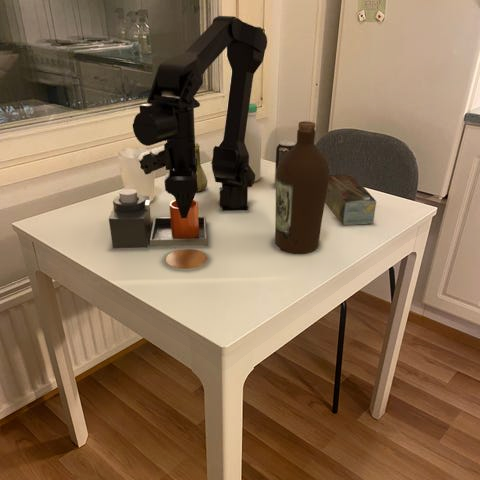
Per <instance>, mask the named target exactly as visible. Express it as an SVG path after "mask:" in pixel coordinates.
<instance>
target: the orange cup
mask: <svg viewBox="0 0 480 480" xmlns="http://www.w3.org/2000/svg"><path fill="white" fill-rule="evenodd" d="M169 217H170V218H171V232H172V236H173V237H174V238H177V239H179V238H195V237H197V236H198V235H199V220H198V217H199V202H198V201H197V200H195V199H193V202H192V205H191V207H190V210H189V212H188V215H187V218H181V216H180V212H179V209H178V206H177V202H176V199H174V200H172V201H170V202H169Z"/></svg>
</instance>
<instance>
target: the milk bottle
mask: <svg viewBox="0 0 480 480" xmlns="http://www.w3.org/2000/svg"><path fill="white" fill-rule="evenodd" d="M257 111H258V105H257V104H255V103H250V104H249V111H248V119H247V126H246V133H245V141H244V143H245V146H246V148H247V151H248V153H249V166H250V167H251V169H252V170H253V172H254V173H255V181H254V182H257V181H259V180H260V178H261V170H262V169H261V165H262V134H261V130H260V127H259V124H258V121H257V114H258V113H257Z"/></svg>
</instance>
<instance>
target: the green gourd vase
mask: <svg viewBox="0 0 480 480" xmlns="http://www.w3.org/2000/svg"><path fill="white" fill-rule="evenodd" d="M195 153H196V154H197V172H196V175H197V192H202V191H204V190H205V189H206V188H207V187H208V178H207V175H206V173H205V171H204V169H203V167H202V165H201V151H200V144H199V143H197V142H195Z"/></svg>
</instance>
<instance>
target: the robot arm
mask: <svg viewBox="0 0 480 480" xmlns="http://www.w3.org/2000/svg"><path fill="white" fill-rule="evenodd" d="M267 47H268V37H267V34H266V33H265V31H264V29H263V28H262V27H261V26H254V25H252V24H249V23H248V22H245V21H243V20H242V19H240V18H239V17H237V16H233V15H217V16H215V17H214V18H213V19H212V22H211V24H210V25H209V26H208V27H207V28H206V29H205V30H204V32H202V34H200V35H199V37H198V38H197V39H196V40H195V41H194V42H193V43H192V44H191V45H190V46H189V47H188V48H187V49H186V50H185V51H184V52H182V53H179V54H176V55H174V56H171V57H169V58H167V59H166V60H164V61H162V62H161V63H160V64H159V66H158V67H157V68H156V71H155V76H154V79H153V82H152V85H151V88H150V90H149V94H148V97H147V100H146V103H147V104H145V103H144V104H140V105H139V113H137V114H136V115H135V117H134V119H133V123H132V130H133V133H134V136H135V138H136V140H137V141H138V142H139V143H140V144H141V145H143V146H145V147H150V146H153V145H156V144H158V143H162V142H163V145H161V146H158V147H155V148H152V149H151V150H150V151H147V152H144V153H142V154H141V155H140V156H139V159H138V160H139V162H140V164H141V166H140V168H141V169H143V171H144V173H145V174H150V173H151V172H152V171H155V172H156V171H158V170H160V169H163V168H165V171H169V172H167V173H166V174H165V176H164V192H166V193H167V194H169V195H171V196H173V197H174V200H176V202H177V206H178V209H179V212H180V216H181V218H187V215H188V212H189V210H190V207H191V205H192V202H193V200H195V197H196V195H197V192H198V191H197V175H196V172H197V154H196V153H195V143H196V134H195V133H196V132H195V131H196V129H195V109H196V108H199V107H200V106H201V103H200V102H199V100H197V99H196V98H195V96H196V95H197V93H198V91H199V90H200V88H201V87H202V85H203V83H204V74H205V72H206V70H208V69H209V67H211V65H212V64H213V63H214V62H215V61H216V59H218V58H219V56H220V55H221V54H222V53H223V52H224V51H225V50H226V53H225V55H226V56H225V57H226V59H227V62H228V64H229V67H230V70H231V74H230V81H229V82H230V83H229V90H228V97H227V106H226V115H225V121H224V122H225V123H224V131H223V138H222V140H221V142H220V143H219V144H218V145H217V146H216V145H215V146H214V147H213V149H212V159H211V162H210V164H211V171H212V173H213V178H214V182H215V183H219V184H221V186H220V187H219V188H218V189H219V192H218V193H219V207H220V208H221V210H222V211H223V212H241V211H242V212H244V211H245V212H246V211H249V206H248V196H249V193H248V191H249V188H252V187H253V185H254V184H255V182H256V181H255V173H254V172H253V170H252V169H251V167H250V166H249V153H248V151H247V148H246V146H245V143H244V141H245V133H246V126H247V119H248V111H249V104H251V98H252V97H251V96H252V88H253V83H254V75H255V73H256V71H257V70H258V69H259V68H260V66H261V65H262V63H263V61H264V57H265V53H266V49H267Z"/></svg>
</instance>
